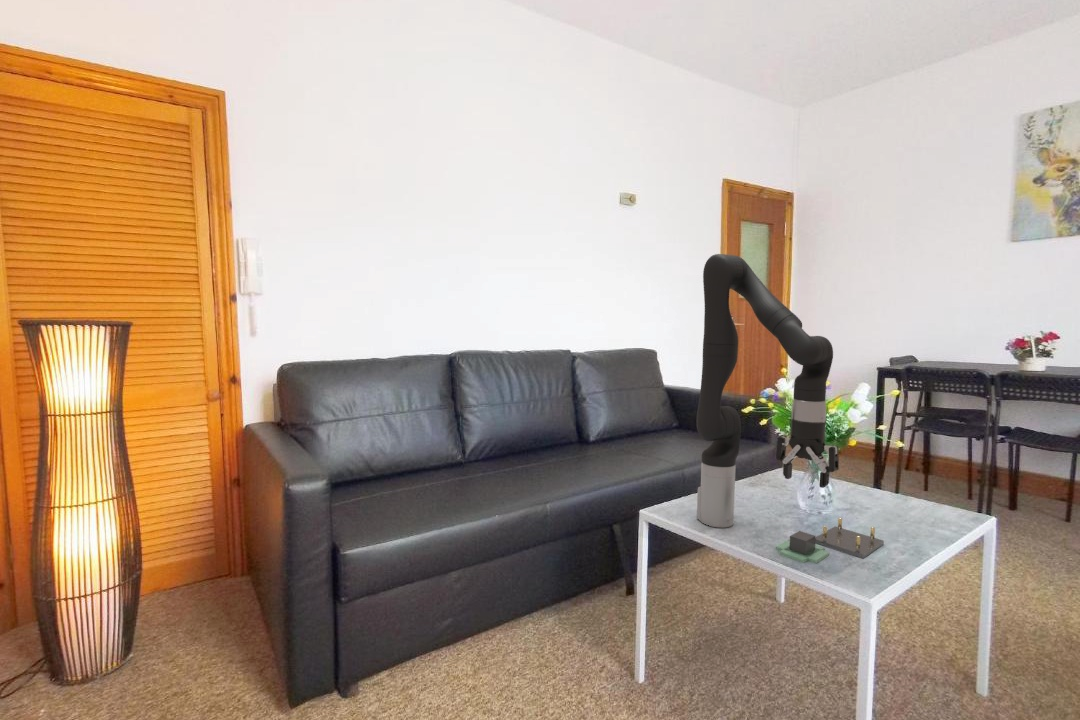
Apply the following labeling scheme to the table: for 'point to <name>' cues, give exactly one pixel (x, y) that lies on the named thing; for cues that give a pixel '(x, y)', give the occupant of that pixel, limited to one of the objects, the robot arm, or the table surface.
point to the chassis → (849, 541)
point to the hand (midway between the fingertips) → (805, 482)
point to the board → (802, 557)
